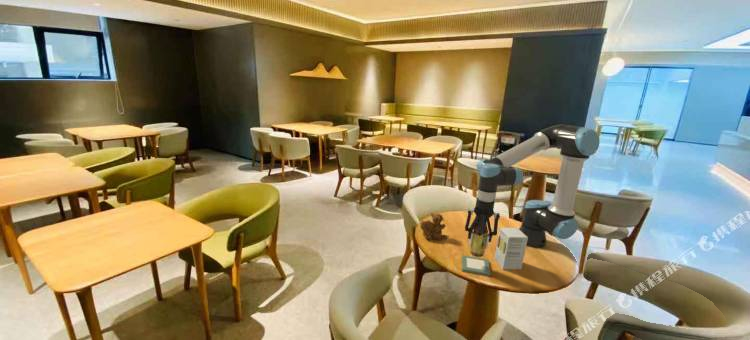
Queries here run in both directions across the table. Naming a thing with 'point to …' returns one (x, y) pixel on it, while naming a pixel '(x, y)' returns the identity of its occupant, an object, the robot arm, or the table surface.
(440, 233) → the stuffed squirrel
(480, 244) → the sauce bottle
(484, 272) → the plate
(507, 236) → the supplement box
